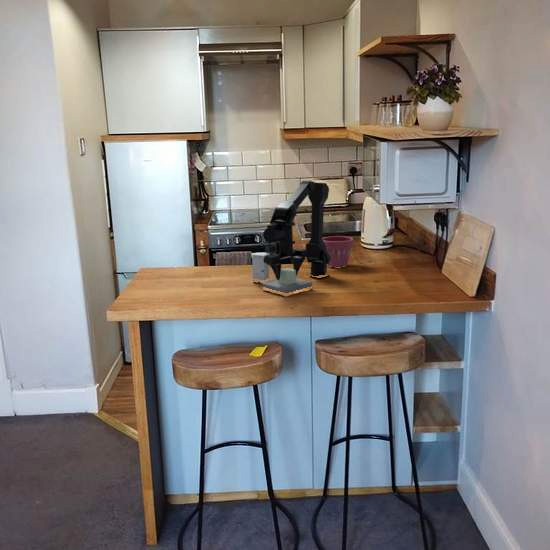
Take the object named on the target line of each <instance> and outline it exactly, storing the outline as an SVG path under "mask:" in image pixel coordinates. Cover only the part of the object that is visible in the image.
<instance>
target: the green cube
mask: <svg viewBox="0 0 550 550" xmlns="http://www.w3.org/2000/svg"><path fill="white" fill-rule="evenodd" d="M296 278H297V275H296V270H294V269H293V268H288V267H287V268H281V273H280V279H279V280H278V283H281V284H285V285H289V284H292V283H296Z"/></svg>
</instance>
